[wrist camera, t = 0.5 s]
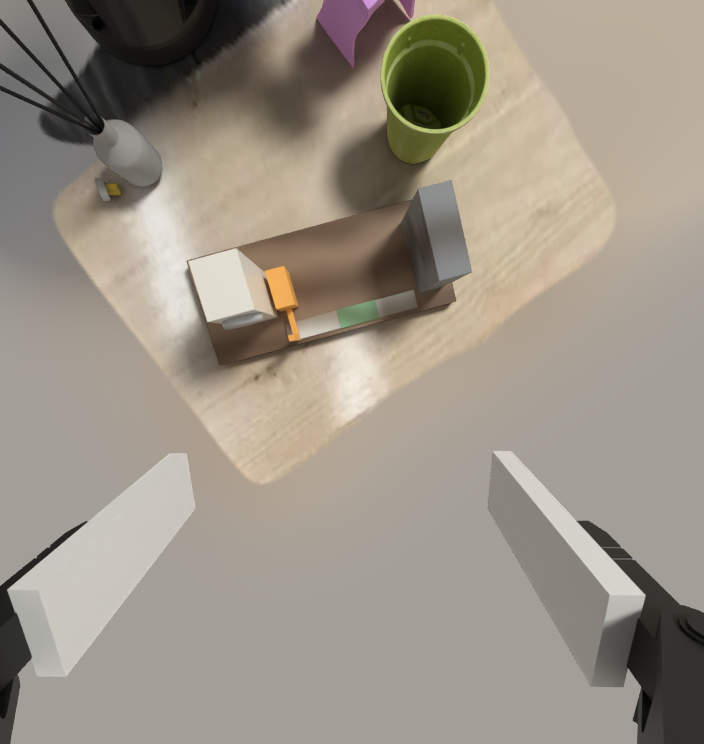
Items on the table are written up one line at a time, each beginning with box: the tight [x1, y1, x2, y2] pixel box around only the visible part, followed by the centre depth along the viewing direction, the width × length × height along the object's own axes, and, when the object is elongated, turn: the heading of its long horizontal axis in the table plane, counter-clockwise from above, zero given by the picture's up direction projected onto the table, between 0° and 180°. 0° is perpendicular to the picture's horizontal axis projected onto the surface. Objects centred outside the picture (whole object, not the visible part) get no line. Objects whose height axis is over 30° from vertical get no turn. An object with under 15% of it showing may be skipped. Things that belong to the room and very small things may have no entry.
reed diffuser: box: [0, 0, 162, 201], centre depth 26 cm, size 10×7×20 cm
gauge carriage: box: [188, 248, 278, 330], centre depth 31 cm, size 6×4×10 cm
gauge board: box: [187, 180, 472, 365], centre depth 33 cm, size 12×28×10 cm, turn 105°
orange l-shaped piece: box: [265, 266, 301, 341], centre depth 34 cm, size 8×2×5 cm, turn 15°
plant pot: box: [381, 15, 490, 164], centre depth 32 cm, size 9×9×9 cm
